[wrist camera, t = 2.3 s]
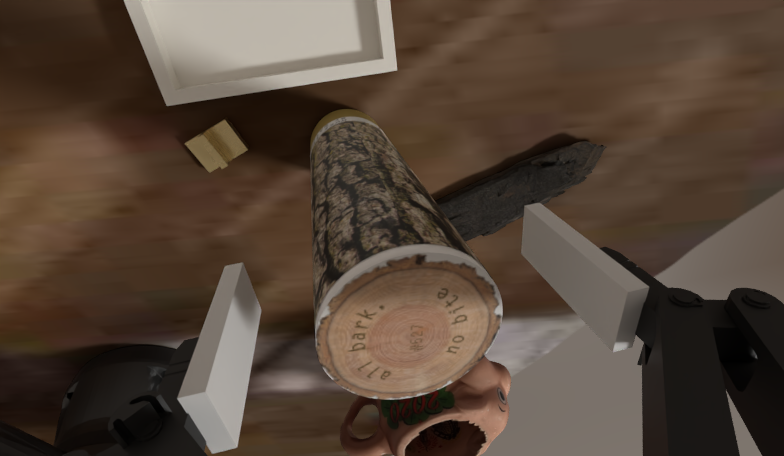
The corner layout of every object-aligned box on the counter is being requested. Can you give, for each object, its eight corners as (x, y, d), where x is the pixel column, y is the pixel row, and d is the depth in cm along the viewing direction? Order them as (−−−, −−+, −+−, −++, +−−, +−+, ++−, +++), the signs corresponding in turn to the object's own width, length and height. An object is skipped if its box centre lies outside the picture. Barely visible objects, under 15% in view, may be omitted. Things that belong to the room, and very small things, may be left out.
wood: (425, 261, 43) (433, 276, 41) (404, 210, 40) (411, 223, 37) (598, 182, 43) (617, 192, 41) (593, 123, 39) (613, 130, 37)
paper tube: (313, 180, 36) (322, 413, 14) (306, 107, 32) (305, 262, 11) (382, 177, 37) (489, 384, 15) (382, 106, 34) (518, 242, 12)
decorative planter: (356, 403, 52) (371, 516, 40) (317, 349, 46) (320, 463, 34) (487, 345, 52) (541, 441, 40) (464, 283, 46) (521, 374, 34)
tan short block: (212, 168, 34) (205, 179, 31) (188, 139, 32) (178, 148, 30) (249, 146, 33) (245, 155, 31) (227, 116, 32) (220, 123, 29)
